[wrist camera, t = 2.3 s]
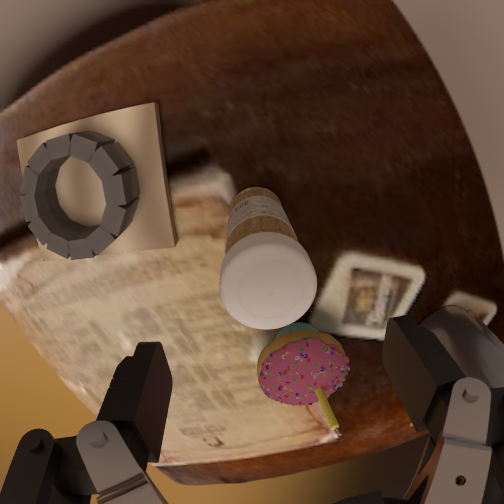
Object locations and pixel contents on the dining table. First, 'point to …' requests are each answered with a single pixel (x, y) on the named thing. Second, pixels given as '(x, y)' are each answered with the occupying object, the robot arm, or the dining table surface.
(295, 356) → the cupcake
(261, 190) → the sprinkles bottle
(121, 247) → the ring holder
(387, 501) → the robot arm
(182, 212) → the dining table surface
